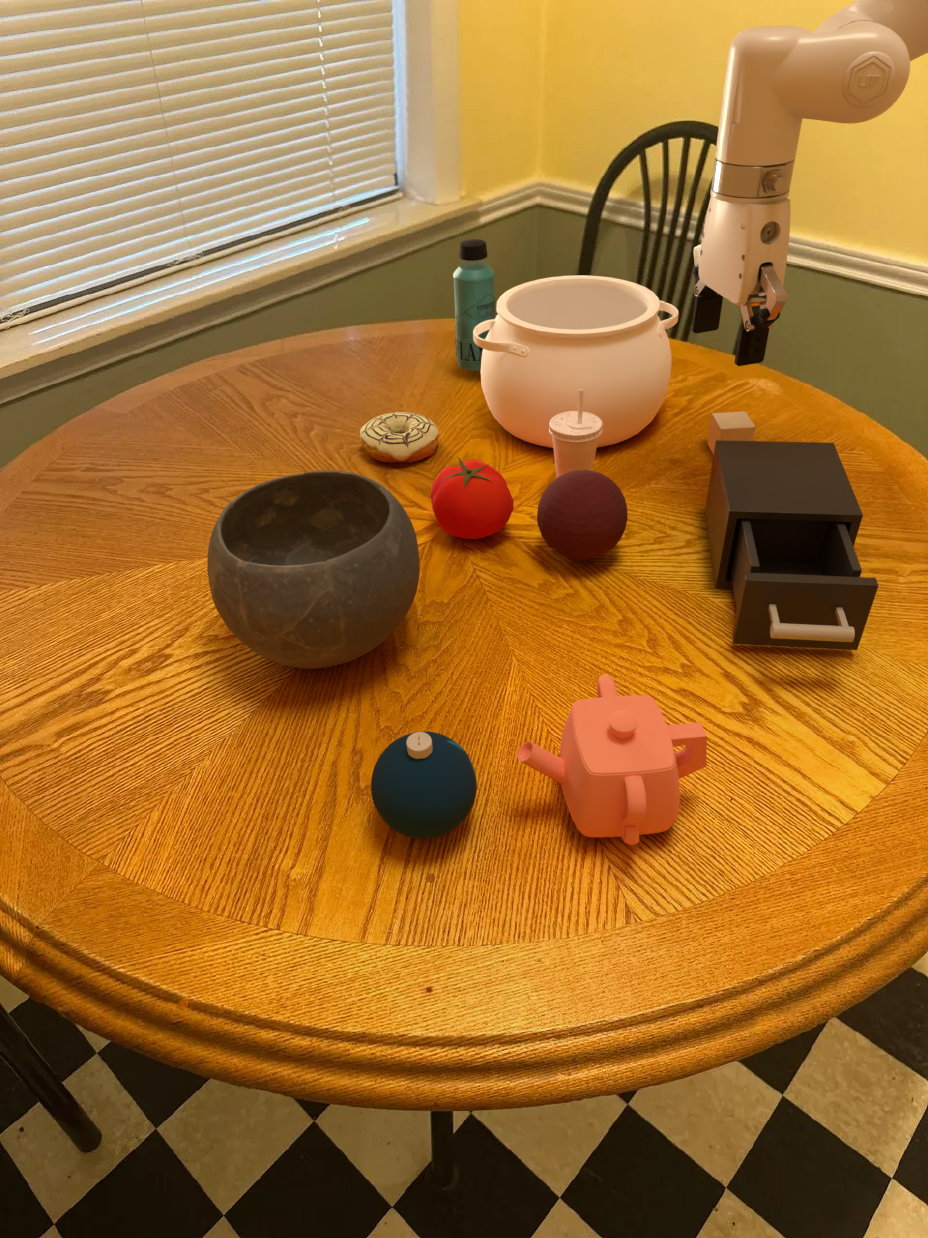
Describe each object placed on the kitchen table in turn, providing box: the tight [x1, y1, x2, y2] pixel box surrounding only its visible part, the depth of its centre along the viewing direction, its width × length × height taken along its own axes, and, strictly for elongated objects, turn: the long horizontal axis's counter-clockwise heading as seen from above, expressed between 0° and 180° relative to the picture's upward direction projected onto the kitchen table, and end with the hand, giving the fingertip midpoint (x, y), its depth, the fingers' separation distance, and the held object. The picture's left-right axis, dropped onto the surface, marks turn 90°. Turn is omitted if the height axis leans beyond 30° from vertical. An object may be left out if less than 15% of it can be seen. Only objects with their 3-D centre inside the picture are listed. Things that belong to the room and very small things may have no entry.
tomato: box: [429, 456, 515, 540], centre depth 101 cm, size 9×10×8 cm
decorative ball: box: [536, 470, 629, 561], centre depth 96 cm, size 10×10×10 cm
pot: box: [473, 275, 680, 449], centre depth 120 cm, size 29×26×16 cm
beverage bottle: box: [452, 238, 497, 372], centre depth 132 cm, size 6×7×20 cm
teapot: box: [516, 674, 708, 846], centre depth 68 cm, size 12×12×10 cm
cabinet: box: [704, 440, 864, 590], centre depth 94 cm, size 15×13×10 cm
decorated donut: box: [359, 411, 441, 464], centre depth 118 cm, size 10×11×4 cm
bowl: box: [206, 469, 420, 670], centre depth 85 cm, size 20×20×15 cm
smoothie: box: [549, 389, 602, 478], centre depth 104 cm, size 6×6×14 cm
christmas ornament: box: [370, 730, 478, 840], centre depth 68 cm, size 8×8×10 cm
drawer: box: [729, 518, 879, 651], centre depth 85 cm, size 18×12×8 cm, turn 173°
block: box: [706, 410, 757, 456], centre depth 114 cm, size 4×4×4 cm
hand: (725, 346), depth 96 cm, fingers open, 9 cm apart
